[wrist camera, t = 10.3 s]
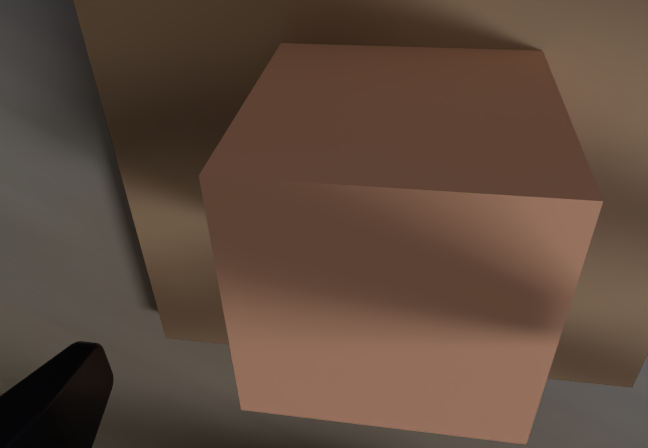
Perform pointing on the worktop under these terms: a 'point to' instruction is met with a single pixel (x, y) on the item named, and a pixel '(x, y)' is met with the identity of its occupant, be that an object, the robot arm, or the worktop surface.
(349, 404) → the terracotta cube
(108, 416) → the worktop surface
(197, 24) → the walnut board
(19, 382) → the robot arm
